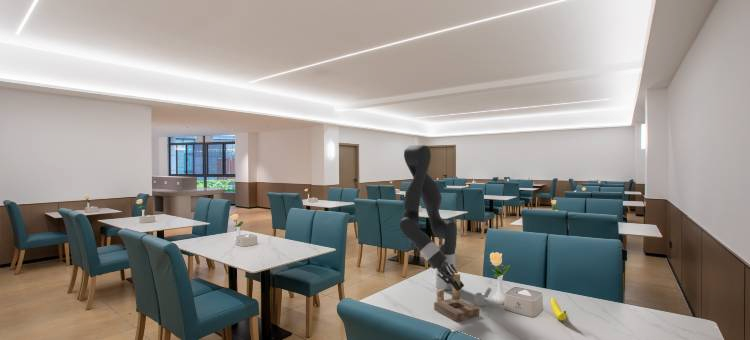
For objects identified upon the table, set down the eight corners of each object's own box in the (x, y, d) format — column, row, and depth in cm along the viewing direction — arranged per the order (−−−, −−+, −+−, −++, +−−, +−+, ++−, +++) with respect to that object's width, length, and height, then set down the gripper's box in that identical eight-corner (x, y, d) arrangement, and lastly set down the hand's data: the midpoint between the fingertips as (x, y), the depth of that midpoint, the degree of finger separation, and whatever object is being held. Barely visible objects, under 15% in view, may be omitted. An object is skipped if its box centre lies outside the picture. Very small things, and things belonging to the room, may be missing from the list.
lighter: (474, 305, 162) (474, 287, 162) (474, 303, 164) (474, 285, 164) (491, 307, 160) (491, 288, 160) (491, 305, 162) (491, 287, 162)
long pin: (456, 296, 156) (456, 272, 156) (461, 298, 154) (461, 274, 153) (450, 297, 155) (450, 273, 155) (455, 300, 152) (455, 275, 152)
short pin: (440, 298, 171) (440, 288, 170) (445, 300, 168) (445, 290, 168) (435, 299, 169) (435, 289, 169) (439, 302, 166) (439, 292, 166)
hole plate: (455, 304, 164) (455, 297, 164) (479, 315, 152) (479, 308, 151) (434, 309, 158) (434, 302, 158) (456, 322, 146) (456, 314, 146)
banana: (556, 308, 158) (556, 293, 158) (569, 328, 140) (569, 311, 140) (548, 307, 159) (548, 293, 159) (560, 327, 140) (561, 311, 140)
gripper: (433, 253, 152) (462, 288, 146) (445, 246, 164) (472, 278, 158) (420, 264, 154) (449, 299, 148) (433, 256, 167) (460, 288, 161)
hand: (460, 288), depth 153 cm, fingers closed on long pin, 3 cm apart
